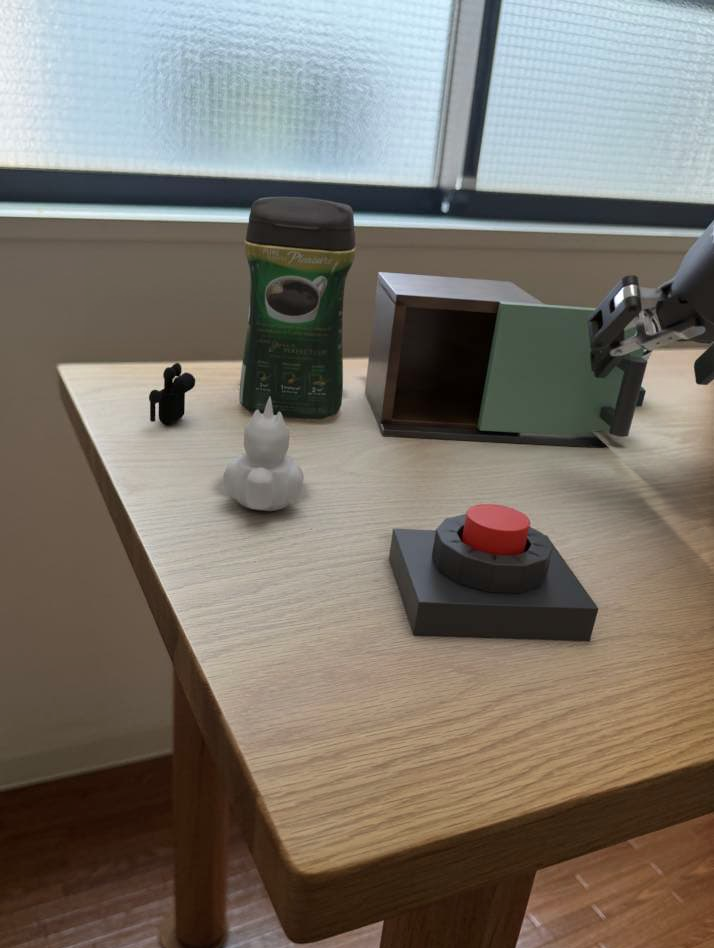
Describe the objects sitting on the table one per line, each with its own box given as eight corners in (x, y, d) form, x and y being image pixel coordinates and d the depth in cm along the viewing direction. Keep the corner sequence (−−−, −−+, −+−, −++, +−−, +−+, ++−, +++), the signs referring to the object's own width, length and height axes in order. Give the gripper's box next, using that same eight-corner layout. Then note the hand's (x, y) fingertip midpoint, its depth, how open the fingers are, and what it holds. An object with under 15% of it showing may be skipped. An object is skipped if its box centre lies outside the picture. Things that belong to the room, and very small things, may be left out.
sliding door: (617, 434, 78) (648, 311, 73) (640, 455, 73) (676, 325, 68) (477, 426, 77) (499, 301, 72) (492, 447, 72) (517, 314, 67)
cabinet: (572, 405, 89) (599, 288, 83) (620, 449, 77) (655, 316, 72) (364, 393, 87) (378, 271, 81) (382, 436, 75) (399, 298, 70)
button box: (540, 565, 55) (552, 509, 54) (589, 642, 47) (606, 579, 46) (388, 558, 54) (396, 501, 53) (413, 636, 46) (423, 572, 45)
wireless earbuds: (181, 409, 77) (181, 354, 75) (206, 414, 77) (207, 359, 75) (144, 432, 71) (144, 373, 69) (171, 437, 71) (172, 378, 69)
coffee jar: (343, 402, 83) (363, 199, 75) (337, 428, 76) (359, 207, 68) (245, 391, 84) (255, 189, 76) (230, 416, 77) (240, 196, 69)
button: (514, 531, 51) (520, 505, 50) (532, 560, 48) (538, 532, 47) (455, 529, 51) (460, 502, 50) (469, 557, 47) (475, 529, 47)
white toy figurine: (304, 495, 62) (313, 389, 59) (296, 535, 56) (305, 419, 53) (230, 488, 62) (235, 381, 59) (214, 526, 56) (218, 411, 53)
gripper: (671, 286, 51) (567, 408, 67) (891, 303, 53) (739, 418, 68) (657, 184, 54) (559, 325, 69) (868, 202, 55) (726, 336, 70)
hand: (648, 371), depth 69 cm, fingers open, 8 cm apart
